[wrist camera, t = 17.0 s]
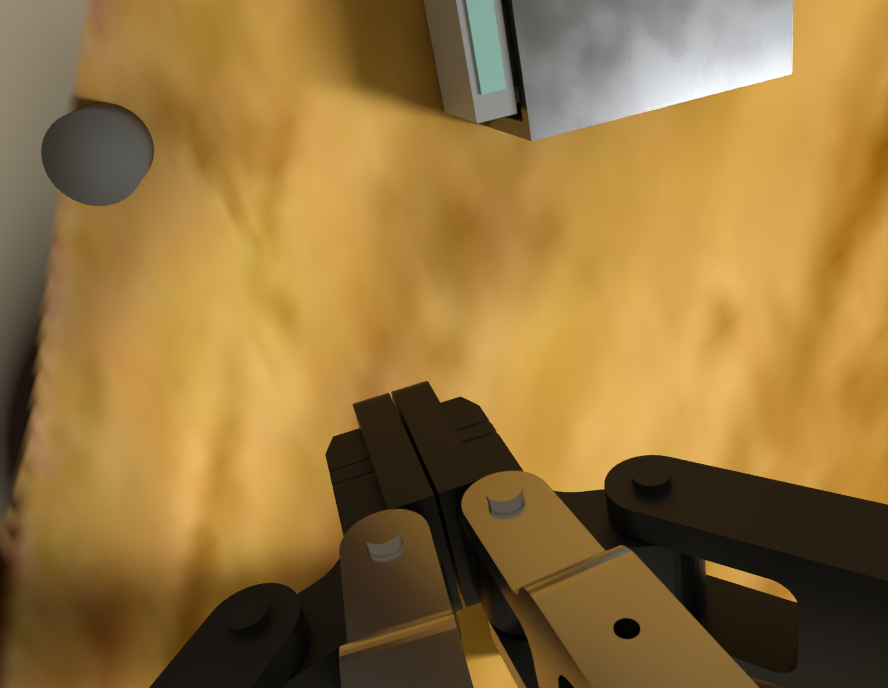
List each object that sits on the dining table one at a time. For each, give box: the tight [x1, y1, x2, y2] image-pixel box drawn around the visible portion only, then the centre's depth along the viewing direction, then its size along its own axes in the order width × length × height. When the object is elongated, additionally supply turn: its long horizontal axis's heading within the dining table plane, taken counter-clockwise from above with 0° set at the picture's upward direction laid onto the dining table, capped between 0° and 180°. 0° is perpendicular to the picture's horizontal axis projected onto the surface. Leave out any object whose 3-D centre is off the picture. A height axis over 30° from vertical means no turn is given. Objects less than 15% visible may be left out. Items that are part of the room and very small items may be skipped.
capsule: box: [41, 103, 154, 206], centre depth 33 cm, size 4×4×4 cm
